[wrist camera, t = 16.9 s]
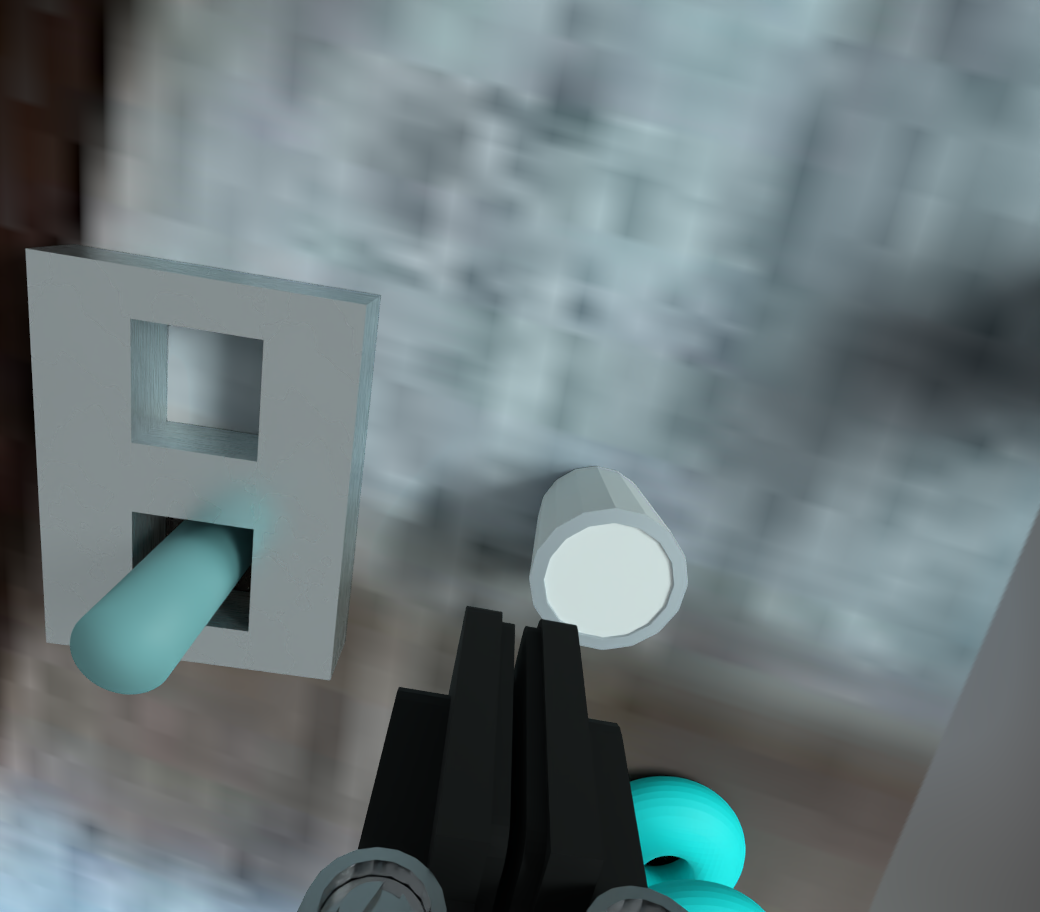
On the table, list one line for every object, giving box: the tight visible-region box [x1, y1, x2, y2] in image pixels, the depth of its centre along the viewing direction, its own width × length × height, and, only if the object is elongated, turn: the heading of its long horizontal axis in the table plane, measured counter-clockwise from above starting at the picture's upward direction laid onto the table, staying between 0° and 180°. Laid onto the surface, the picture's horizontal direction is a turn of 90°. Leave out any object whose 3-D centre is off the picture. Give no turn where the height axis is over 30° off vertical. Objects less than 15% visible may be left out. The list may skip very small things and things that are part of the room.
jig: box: [26, 244, 381, 680], centre depth 35 cm, size 19×14×4 cm
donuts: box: [630, 776, 765, 912], centre depth 40 cm, size 10×10×10 cm
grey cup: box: [529, 466, 688, 650], centre depth 34 cm, size 7×7×7 cm
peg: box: [70, 519, 254, 694], centre depth 33 cm, size 4×4×10 cm
